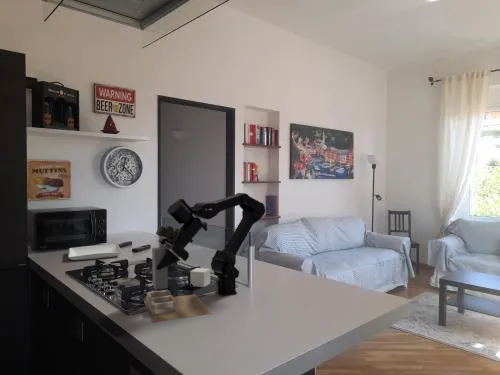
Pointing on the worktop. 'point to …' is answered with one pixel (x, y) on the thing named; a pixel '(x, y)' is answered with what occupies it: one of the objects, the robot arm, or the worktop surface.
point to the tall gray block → (159, 275)
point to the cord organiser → (173, 306)
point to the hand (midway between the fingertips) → (155, 268)
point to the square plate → (94, 252)
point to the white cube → (200, 277)
